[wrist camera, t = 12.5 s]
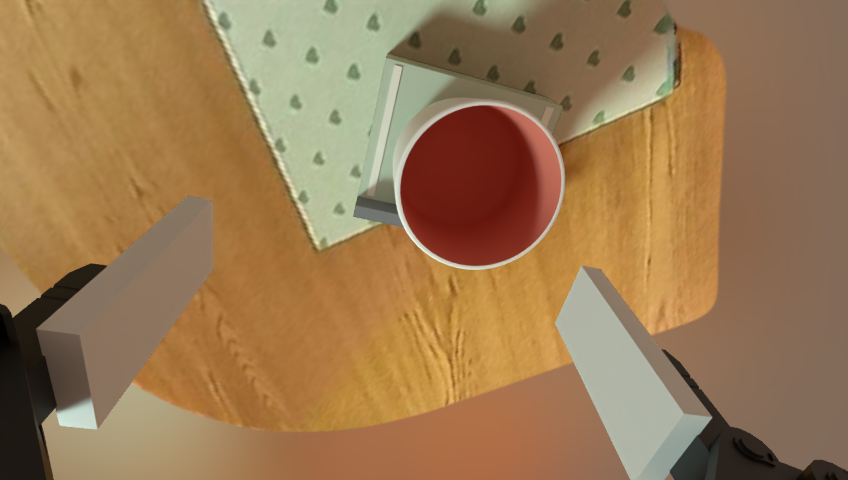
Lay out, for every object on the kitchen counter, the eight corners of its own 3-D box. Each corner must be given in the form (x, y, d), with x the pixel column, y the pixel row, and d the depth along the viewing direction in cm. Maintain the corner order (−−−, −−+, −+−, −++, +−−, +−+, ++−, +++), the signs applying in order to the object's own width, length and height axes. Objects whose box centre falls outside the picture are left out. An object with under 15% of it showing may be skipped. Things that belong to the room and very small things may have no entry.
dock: (387, 53, 35) (384, 60, 29) (547, 97, 37) (572, 111, 32) (359, 189, 40) (353, 216, 35) (501, 221, 42) (515, 251, 37)
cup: (366, 150, 33) (358, 173, 24) (471, 68, 32) (507, 59, 23) (441, 246, 36) (460, 300, 27) (540, 175, 35) (596, 205, 26)
